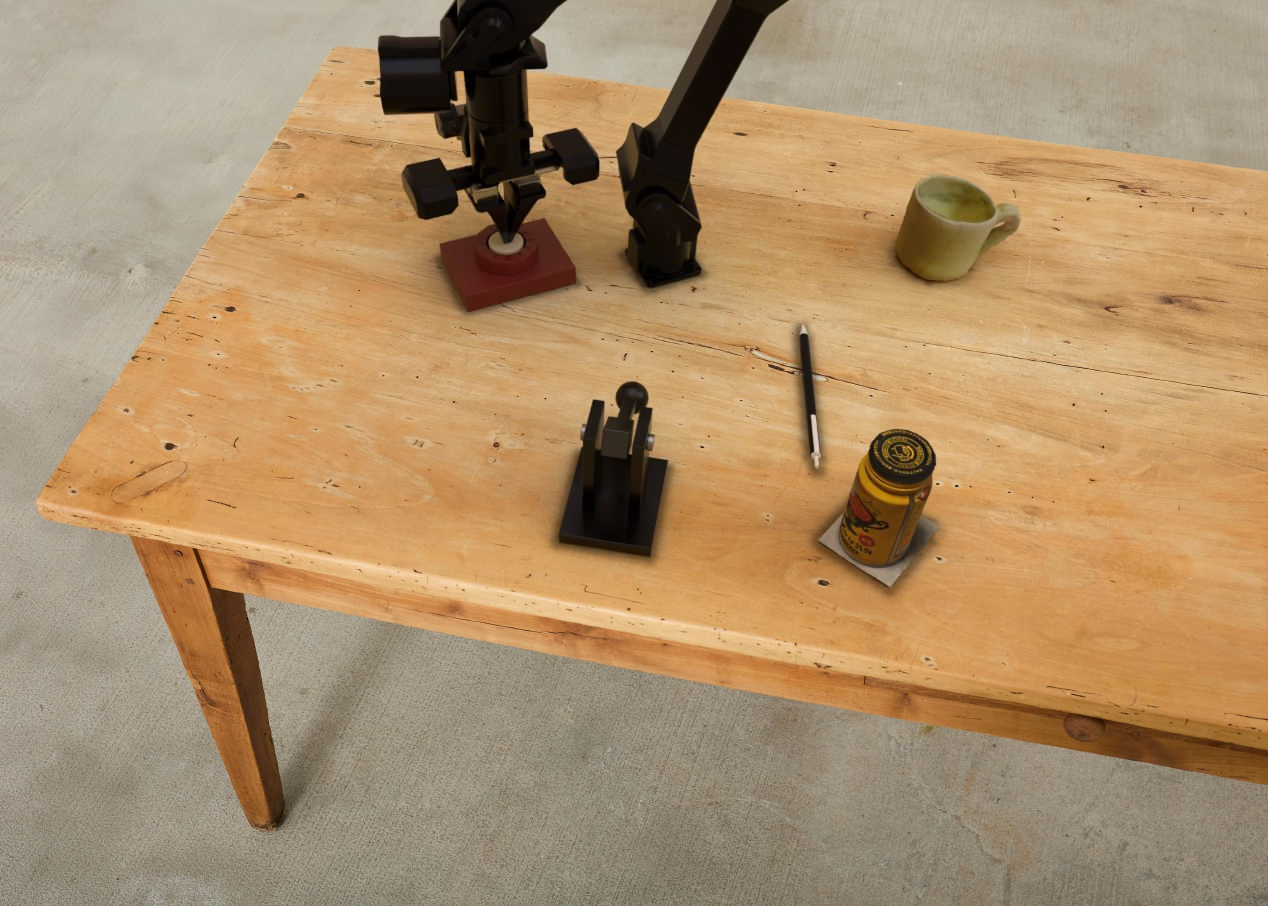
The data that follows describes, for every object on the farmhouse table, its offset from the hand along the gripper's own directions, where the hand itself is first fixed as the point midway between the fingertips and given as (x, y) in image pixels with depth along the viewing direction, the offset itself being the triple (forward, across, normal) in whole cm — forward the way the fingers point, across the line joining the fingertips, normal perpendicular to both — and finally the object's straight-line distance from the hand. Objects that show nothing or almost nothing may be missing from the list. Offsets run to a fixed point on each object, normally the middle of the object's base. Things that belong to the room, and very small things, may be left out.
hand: (506, 240), depth 110 cm
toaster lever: (-2, 0, +30) cm, 30 cm away
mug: (+4, -46, +16) cm, 49 cm away
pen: (+4, -21, +28) cm, 35 cm away
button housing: (+4, 0, 0) cm, 4 cm away
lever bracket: (+4, +2, +33) cm, 33 cm away
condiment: (+4, -18, +45) cm, 49 cm away
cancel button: (+2, 0, 0) cm, 2 cm away
